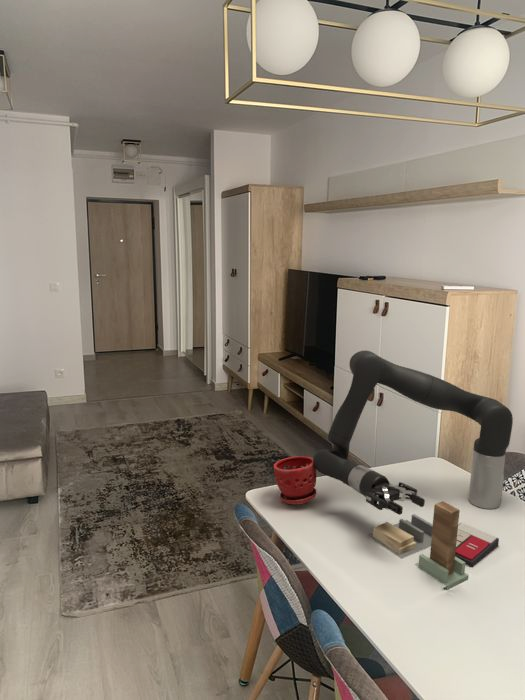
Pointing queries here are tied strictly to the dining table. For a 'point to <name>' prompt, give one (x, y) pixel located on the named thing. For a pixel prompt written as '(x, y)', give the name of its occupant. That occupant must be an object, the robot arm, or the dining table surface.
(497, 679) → the dining table surface
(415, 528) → the rack
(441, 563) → the tall board
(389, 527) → the offcut stack
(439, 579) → the board holder
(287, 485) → the plant pot
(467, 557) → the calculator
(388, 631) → the dining table surface
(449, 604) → the dining table surface
